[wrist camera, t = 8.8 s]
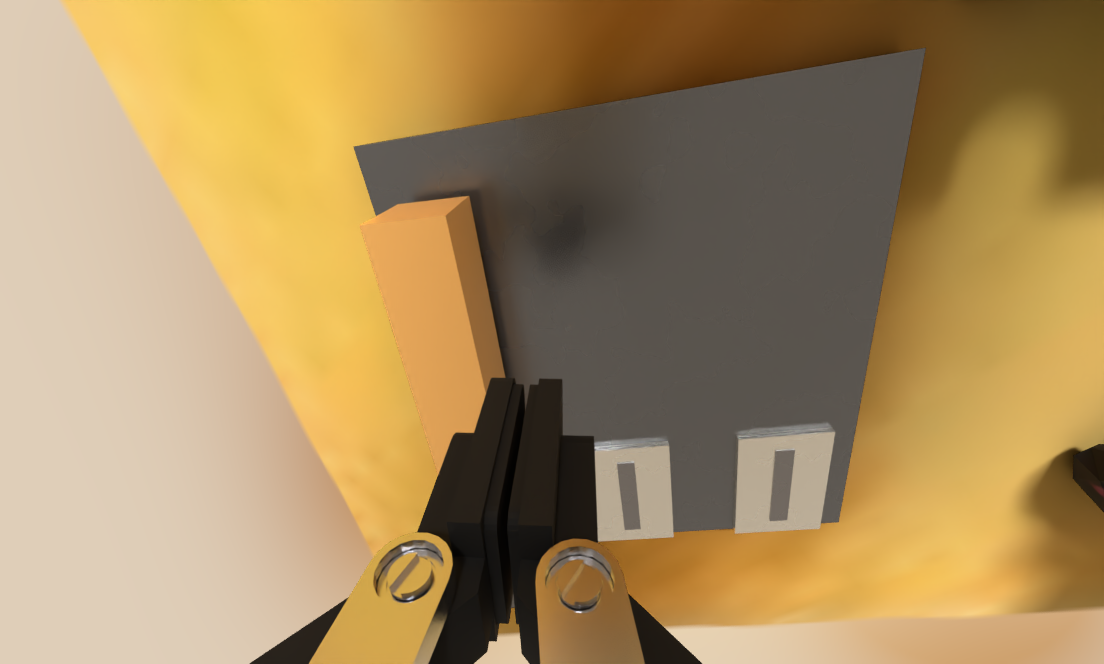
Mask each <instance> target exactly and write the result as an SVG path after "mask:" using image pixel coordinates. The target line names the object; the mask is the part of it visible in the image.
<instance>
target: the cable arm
mask: <svg viewBox="0 0 1104 664" xmlns="http://www.w3.org/2000/svg"><path fill="white" fill-rule="evenodd" d="M360 228H361V232H362V235H363V238H364V241H365V244H366V247H367V251H368V254H369V257H370V260H371V263H372V267H373V270H374V273H375V276H376V279H377V282H378V286H379V289H380V292H381V295H382V298H383V302H384V305H385V308H386V311H387V314H388V317H389V321H390V324H391V327H392V330H393V333H394V337H395V340H396V343H397V346H398V349H399V352H400V356H401V359H402V362H403V365H404V368H405V371H406V375H407V378H408V381H409V384H410V387H411V391H412V394H413V397H414V400H415V403H416V406H417V410H418V413H419V416H420V419H421V422H422V426H423V429H424V432H425V435H426V438H427V441H428V445H429V448H430V451H431V454H432V457H433V460H434V464H435V467H436V470H437V473H438V474H439V472H440V469H441V466H442V464H443V461H444V458H445V455H446V453H447V450H448V447H449V444H450V442H451V439H452V437H453V435H454V434H455V433H456V432H460V433H474V431H475V428H476V424H477V421H478V418H479V415H480V411H481V408H482V405H483V402H484V399H485V395H486V392H487V389H488V386H489V382H490V380H491V378H505V373H504V368H503V363H502V358H501V353H500V348H499V343H498V338H497V333H496V328H495V323H494V318H493V313H492V308H491V303H490V298H489V293H488V288H487V283H486V278H485V273H484V268H483V263H482V258H481V253H480V248H479V243H478V238H477V233H476V228H475V223H474V218H473V212H472V207H471V202H470V197H469V196H463V197H454V198H446V199H438V200H429V201H421V202H412V203H404V204H397V205H396V206H394V207H392V208H390V209H388V210H387V211H385V212H383V213H381V214H379V215H377V216H376V217H374V218H372V219H370V220H368V221H367V222H365V223H363V224H361V225H360ZM514 607H515V605H514V595H513V598H512V606H511V608H514Z"/></svg>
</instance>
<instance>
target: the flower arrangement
mask: <svg viewBox="0 0 1104 664" xmlns="http://www.w3.org/2000/svg"><path fill="white" fill-rule="evenodd" d="M1073 479H1074V480H1075V481H1076V483H1077V484H1078V485H1079V486H1080V487H1081V488H1082V489H1083V490H1084V491H1085V492H1086V494H1087V495H1088V496H1089V497H1090V498H1091V499H1092V500H1093V501H1094V502H1095V503H1096V504H1097V506H1098V507H1099V508H1100V509H1101V510H1102V511H1103V512H1104V444H1098V445H1096V446H1094V447H1091V448H1089V449H1087V450H1085V451H1082V452H1080V453H1078V454H1076V455H1074V459H1073Z"/></svg>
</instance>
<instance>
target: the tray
mask: <svg viewBox="0 0 1104 664" xmlns="http://www.w3.org/2000/svg"><path fill="white" fill-rule="evenodd" d="M925 50H926V48H921V49H915V50H909V51H903V52H897V53H891V54H885V55H880V56H874V57H868V58H862V59H857V60H851V61H845V62H839V63H833V64H828V65H822V66H816V67H810V68H805V69H799V70H793V71H787V72H781V73H776V74H770V75H764V76H758V77H753V78H747V79H741V80H735V81H729V82H724V83H718V84H712V85H706V86H701V87H695V88H689V89H683V90H677V91H672V92H666V93H660V94H654V95H649V96H643V97H637V98H631V99H625V100H620V101H614V102H608V103H602V104H596V105H591V106H585V107H579V108H573V109H568V110H562V111H556V112H550V113H544V114H539V115H533V116H527V117H521V118H516V119H510V120H504V121H498V122H492V123H487V124H481V125H475V126H469V127H464V128H458V129H452V130H446V131H440V132H435V133H429V134H423V135H417V136H412V137H406V138H400V139H394V140H388V141H383V142H377V143H371V144H365V145H360V146H355V147H354V150H355V153H356V156H357V159H358V162H359V165H360V168H361V171H362V174H363V177H364V180H365V183H366V187H367V190H368V193H369V196H370V199H371V202H372V205H373V208H374V211H375V214H376V216H377V215H379V214H381V213H383V212H385V211H387V210H388V209H390V208H392V207H394V206H396V205H397V204H404V203H412V202H421V201H429V200H438V199H446V198H454V197H463V196H469V197H470V202H471V207H472V212H473V218H474V223H475V228H476V233H477V238H478V243H479V248H480V253H481V258H482V263H483V268H484V273H485V278H486V283H487V288H488V293H489V298H490V303H491V308H492V313H493V318H494V323H495V328H496V333H497V338H498V343H499V348H500V353H501V358H502V363H503V368H504V373H505V378H515V381H516V384H523V385H524V394H525V411H526V405H527V399H528V393H529V387H530V384H535V385H538V383H539V379H540V378H541V379H562V384H563V435H573V436H594V445H595V473H596V500H597V527H598V542H599V541H616V540H633V539H650V538H667V537H674V534H673V532H682V531H699V530H716V529H732V528H733V529H734V532H735V534H736V533H753V532H770V531H787V530H804V529H820V525H821V523H833V522H839V517H840V511H841V506H842V500H843V495H844V489H845V484H846V479H847V473H848V468H849V462H850V457H851V451H852V446H853V441H854V435H855V430H856V424H857V419H858V413H859V408H860V403H861V397H862V392H863V386H864V381H865V375H866V370H867V365H868V359H869V354H870V348H871V343H872V337H873V332H874V327H875V321H876V316H877V310H878V305H879V299H880V294H881V289H882V283H883V278H884V272H885V267H886V261H887V256H888V251H889V245H890V240H891V234H892V229H893V223H894V218H895V213H896V207H897V202H898V196H899V191H900V185H901V180H902V175H903V169H904V164H905V158H906V153H907V147H908V142H909V136H910V131H911V126H912V120H913V115H914V109H915V104H916V98H917V93H918V88H919V82H920V77H921V71H922V66H923V60H924V55H925Z"/></svg>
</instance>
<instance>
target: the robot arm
mask: <svg viewBox="0 0 1104 664" xmlns="http://www.w3.org/2000/svg"><path fill="white" fill-rule="evenodd" d="M513 595H514V605H515V616H516V624H519V628H520V639H521V649H522V654H523V655H524V657H525V658H526V660H527V661H528V662H529V663H530V664H702V663H701V662H700V661H699V660H698V659H697V658H696V657H695V656H694V655H693V654H692V653H690V652H689V651H688V650H687V649H686V648H685V647H684V646H683V645H682V644H681V643H680V642H679V641H678V640H677V639H676V638H675V637H674V636H673V635H671V634H670V633H669V632H668V631H667V630H666V629H665V628H664V627H663V626H662V625H661V624H660V623H659V622H658V621H657V620H656V619H655V618H654V617H652V616H651V615H650V614H649V613H648V612H647V611H646V610H645V609H644V608H643V607H642V606H641V605H640V604H639V603H638V602H637V601H636V600H634V599H633V598H632V597H631V596H630V595H629V594H628V592H627V588H626V584H625V580H624V575H623V572H622V570H621V567H620V565H619V562H618V560H617V559H616V558H615V557H614V556H613V554H612V553H611V552H610V551H609V550H608V549H606V548H605V547H603V546H602V545H600V544H599V543H598V527H597V500H596V473H595V445H594V436H573V435H563V384H562V379H541V378H540V379H539V383H538V385H535V384H530V387H529V393H528V399H527V405H526V411H525V394H524V385H523V384H516V381H515V378H491V380H490V382H489V386H488V389H487V392H486V395H485V399H484V402H483V405H482V408H481V411H480V415H479V418H478V421H477V424H476V428H475V431H474V433H460V432H456V433H455V434H454V435H453V437H452V439H451V442H450V444H449V447H448V450H447V453H446V455H445V458H444V461H443V464H442V466H441V469H440V472H439V474H438V477H437V480H436V483H435V485H434V488H433V491H432V494H431V496H430V499H429V502H428V504H427V507H426V510H425V513H424V515H423V518H422V521H421V524H420V526H419V529H418V532H415V533H411V534H407V535H403V536H401V537H399V538H397V539H395V540H393V541H391V542H389V543H388V544H387V545H385V546H384V547H383V548H382V549H380V550H379V551H378V553H377V554H376V555H375V556H374V558H373V559H372V560H371V562H370V563H369V565H368V566H367V568H366V570H365V571H364V573H363V575H362V576H361V578H360V580H359V581H358V583H357V585H356V586H355V588H354V590H353V591H352V593H351V594H350V596H349V597H348V598H347V599H345V600H344V601H342V602H341V603H339V604H338V605H336V606H335V607H333V608H332V609H330V610H329V611H327V612H326V613H325V614H323V615H321V616H320V617H318V618H317V619H316V620H314V621H313V622H311V623H310V624H308V625H306V626H305V627H303V628H302V629H301V630H299V631H298V632H296V633H295V634H293V635H292V636H290V637H289V638H287V639H286V640H284V641H283V642H281V643H280V644H278V645H277V646H275V647H274V648H272V649H271V650H269V651H268V652H266V653H265V654H263V655H262V656H260V657H259V658H257V659H256V660H254V661H253V662H251V663H250V664H474V663H475V662H476V661H477V660H478V659H479V658H481V657H482V656H483V655H484V654H485V653H486V652H487V650H488V644H489V641H497V636H498V629H499V623H504V624H508V623H509V619H510V613H511V606H512V598H513Z"/></svg>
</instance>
